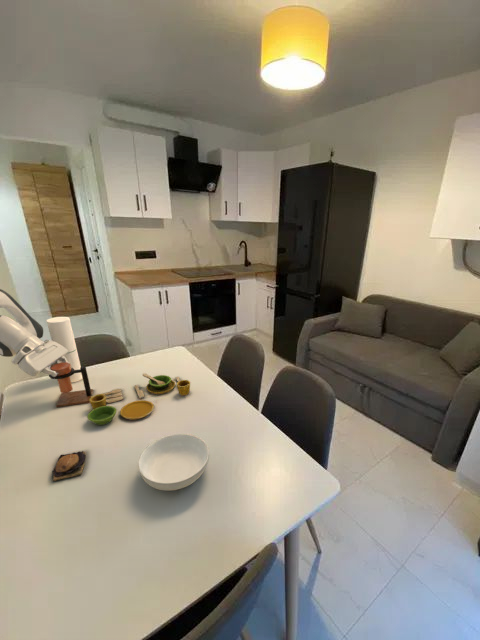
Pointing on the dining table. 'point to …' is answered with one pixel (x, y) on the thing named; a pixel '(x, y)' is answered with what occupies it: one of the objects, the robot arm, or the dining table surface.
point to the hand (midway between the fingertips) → (62, 370)
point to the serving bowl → (173, 461)
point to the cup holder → (75, 396)
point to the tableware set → (137, 408)
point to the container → (65, 342)
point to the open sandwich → (69, 465)
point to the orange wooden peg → (63, 369)
